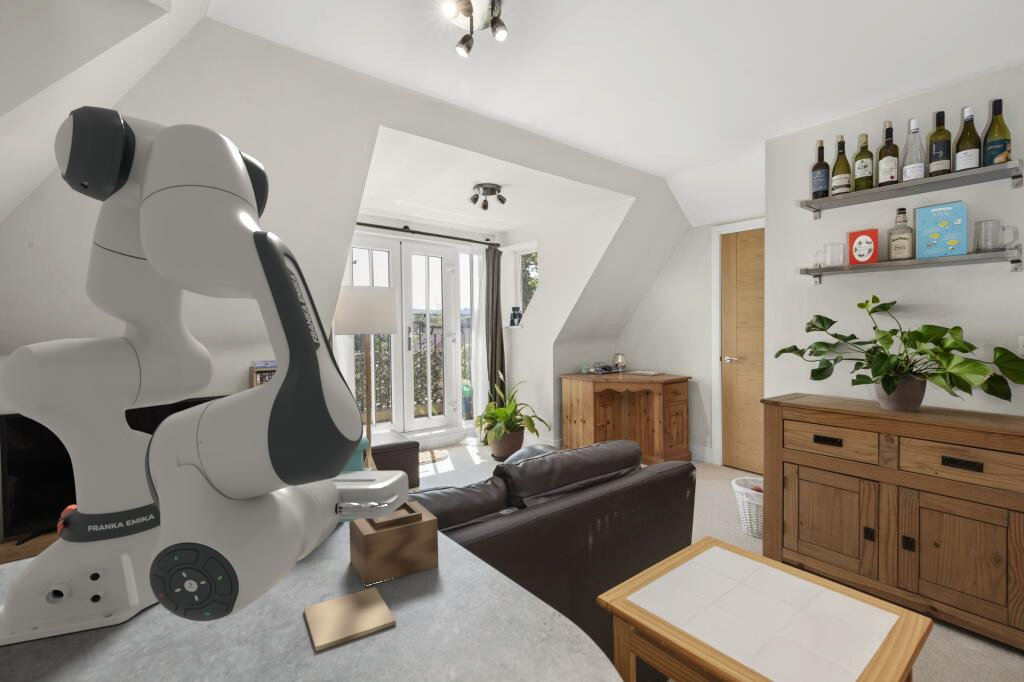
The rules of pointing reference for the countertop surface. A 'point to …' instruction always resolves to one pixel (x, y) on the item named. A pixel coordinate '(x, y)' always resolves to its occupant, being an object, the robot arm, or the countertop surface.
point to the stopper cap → (356, 463)
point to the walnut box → (394, 543)
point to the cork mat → (347, 618)
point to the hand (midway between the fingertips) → (347, 473)
